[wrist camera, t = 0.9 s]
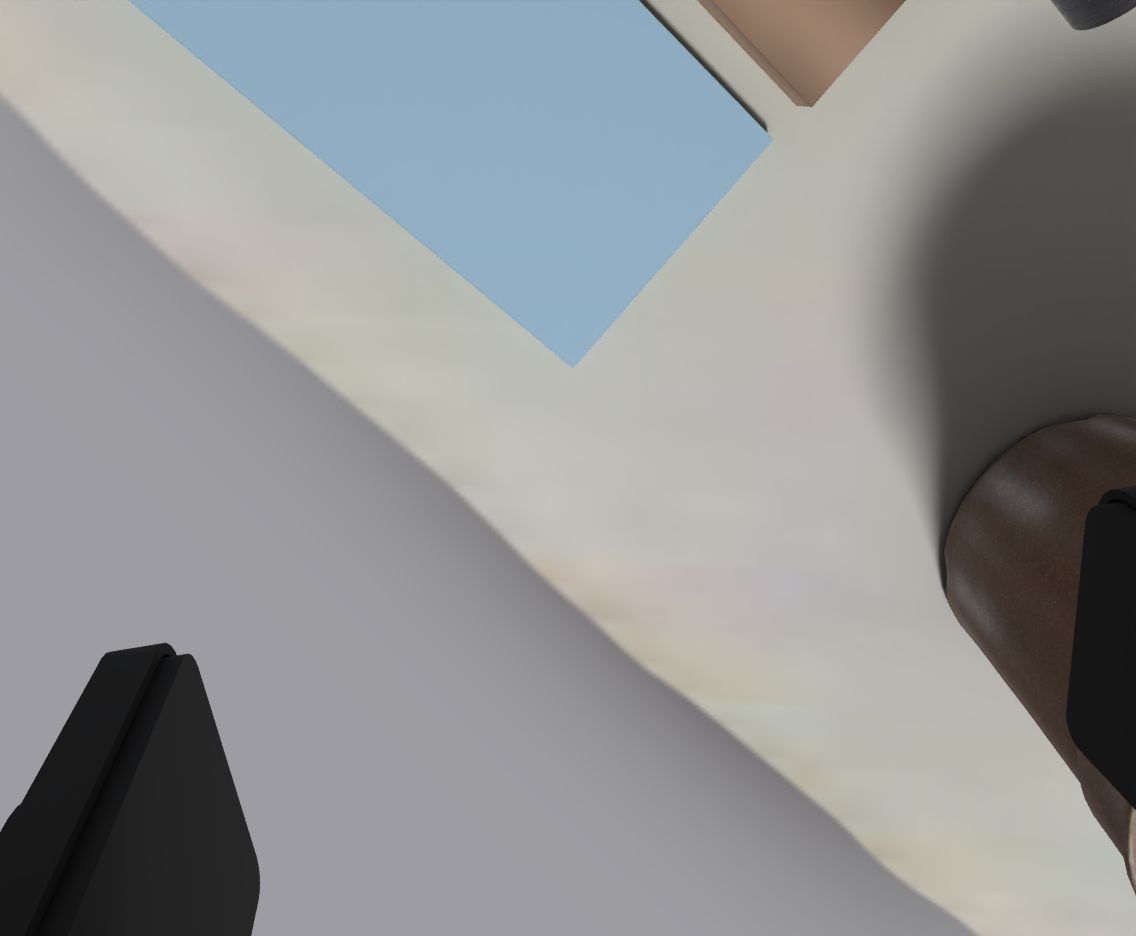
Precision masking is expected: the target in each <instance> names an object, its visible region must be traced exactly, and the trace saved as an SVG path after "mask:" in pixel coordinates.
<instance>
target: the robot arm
mask: <svg viewBox="0 0 1136 936" xmlns="http://www.w3.org/2000/svg"><path fill="white" fill-rule="evenodd" d="M1066 721H1067V726H1068V730H1069V733H1070V735H1071V738H1072V740H1073V741H1074V743H1075V745H1076V746H1077V748H1078V749H1079V750H1080V751H1081V752H1082V753H1083V755H1084V756H1085V757H1086V758H1087V759H1088V760H1089V761H1090V762H1091V763H1092V764H1093V765H1094V766H1095V767H1096V768H1097V769H1098V771H1099V772H1100V773H1101V774H1102V775H1103V776H1104V777H1105V778H1106V779H1107V780H1108V781H1109V782H1110V783H1111V784H1112V786H1113V787H1114V788H1115V789H1116V790H1117V791H1118V792H1119V793H1120V794H1121V795H1122V796H1123V797H1124V798H1125V799H1126V800H1127V802H1128V803H1129V804H1130V805H1131V806H1132V807H1133V808H1134V809H1135V810H1136V486H1130V487H1123V488H1117V489H1111V490H1109V491H1107V492H1106V493H1104V494H1103V496H1102V498H1101V499H1100V501H1099V504H1098V505H1097V506H1094V507H1092V508H1091V509H1090V510H1089V512H1088V514H1087V517H1086V521H1085V530H1084V540H1083V550H1082V560H1081V570H1080V580H1079V589H1078V599H1077V609H1076V619H1075V629H1074V639H1073V649H1072V659H1071V668H1070V678H1069V688H1068V698H1067V708H1066ZM259 893H260V874H259V866H258V861H257V857H256V853H255V850H254V847H253V843H252V840H251V837H250V834H249V830H248V827H247V824H246V821H245V817H244V814H243V811H242V808H241V805H240V801H239V798H238V795H237V792H236V788H235V785H234V782H233V779H232V775H231V772H230V769H229V766H228V763H227V760H226V756H225V753H224V749H223V746H222V743H221V740H220V736H219V733H218V730H217V727H216V723H215V720H214V717H213V714H212V710H211V707H210V704H209V701H208V697H207V694H206V691H205V688H204V684H203V681H202V678H201V675H200V671H199V668H198V666H197V663H196V661H195V659H194V658H193V656H192V655H190V654H184V655H178V656H177V655H176V652H175V651H174V649H173V648H172V646H171V645H169V644H167V643H161V644H155V645H149V646H143V647H137V648H131V649H124V650H118V651H113V652H108V653H106V654H105V655H104V656H103V657H102V658H101V660H100V662H99V664H98V666H97V667H96V670H95V671H94V673H93V675H92V676H91V678H90V680H89V682H88V684H87V686H86V687H85V689H84V691H83V693H82V695H81V696H80V698H79V700H78V702H77V704H76V706H75V707H74V709H73V711H72V713H71V714H70V716H69V718H68V720H67V722H66V724H65V725H64V727H63V729H62V731H61V732H60V734H59V736H58V738H57V740H56V742H55V743H54V745H53V747H52V749H51V751H50V753H49V754H48V756H47V758H46V760H45V762H44V763H43V765H42V767H41V769H40V770H39V772H38V774H37V776H36V778H35V780H34V781H33V783H32V785H31V787H30V789H29V790H28V792H27V794H26V796H25V798H24V799H23V801H22V803H21V804H20V805H19V806H17V808H16V809H15V810H14V811H13V813H12V814H11V815H10V817H9V818H8V819H7V821H6V823H5V825H4V827H3V828H2V830H1V832H0V936H251V934H252V929H253V924H254V919H255V914H256V909H257V905H258V900H259Z"/></svg>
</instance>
